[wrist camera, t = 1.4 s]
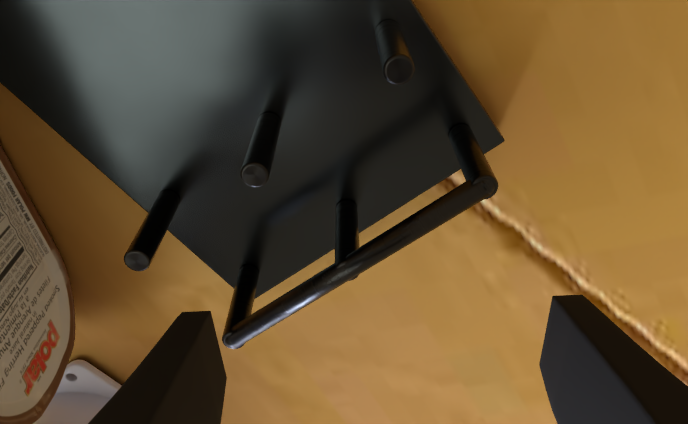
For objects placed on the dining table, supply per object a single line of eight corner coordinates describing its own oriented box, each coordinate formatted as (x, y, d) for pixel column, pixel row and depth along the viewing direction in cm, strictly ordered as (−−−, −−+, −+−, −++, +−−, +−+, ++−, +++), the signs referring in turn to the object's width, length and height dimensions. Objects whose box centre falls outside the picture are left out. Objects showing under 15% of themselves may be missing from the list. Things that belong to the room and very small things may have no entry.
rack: (252, 287, 24) (233, 377, 19) (-238, -156, 15) (-460, -165, 11) (498, 129, 20) (541, 199, 16) (25, -579, 11) (-159, -842, 7)
